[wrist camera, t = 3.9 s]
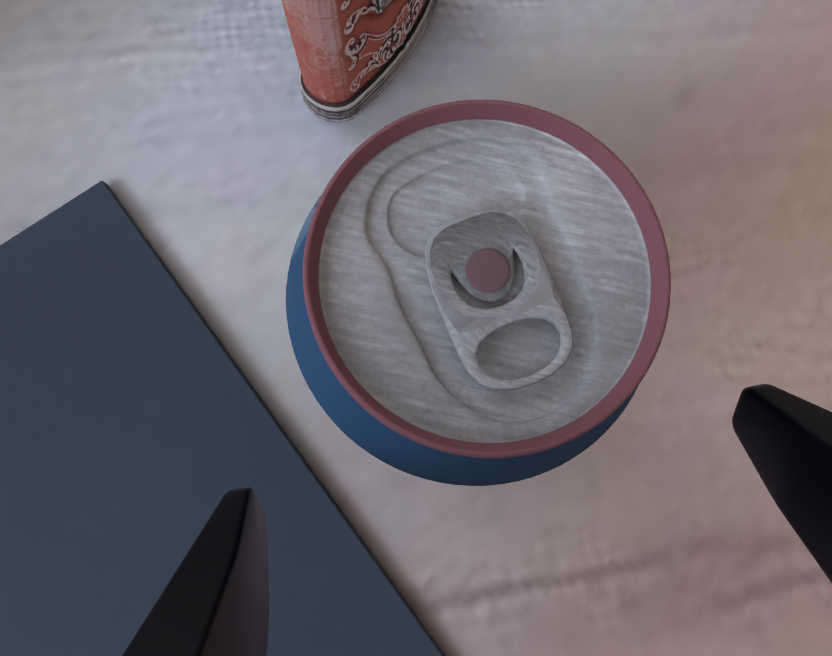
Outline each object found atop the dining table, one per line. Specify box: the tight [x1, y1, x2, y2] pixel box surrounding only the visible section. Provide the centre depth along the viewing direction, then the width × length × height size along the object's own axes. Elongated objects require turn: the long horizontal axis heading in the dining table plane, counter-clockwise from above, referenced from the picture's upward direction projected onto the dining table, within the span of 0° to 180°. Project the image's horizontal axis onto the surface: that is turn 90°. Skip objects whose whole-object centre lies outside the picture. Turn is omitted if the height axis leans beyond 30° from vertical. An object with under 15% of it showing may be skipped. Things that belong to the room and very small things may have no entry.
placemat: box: [0, 181, 445, 656], centre depth 18 cm, size 22×15×1 cm
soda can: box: [286, 100, 671, 486], centre depth 14 cm, size 7×7×12 cm
